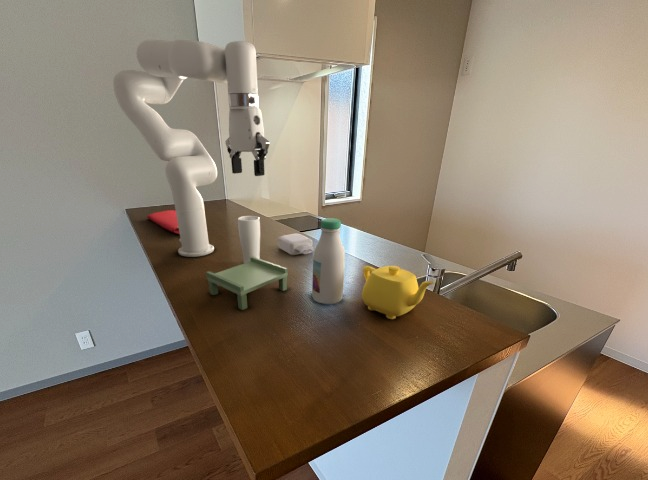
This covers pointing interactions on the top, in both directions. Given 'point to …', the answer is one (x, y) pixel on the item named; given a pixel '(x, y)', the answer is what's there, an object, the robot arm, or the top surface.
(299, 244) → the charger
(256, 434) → the top surface
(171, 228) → the red flat wedge
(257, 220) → the drinking glass
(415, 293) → the teapot
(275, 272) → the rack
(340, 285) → the milk bottle
